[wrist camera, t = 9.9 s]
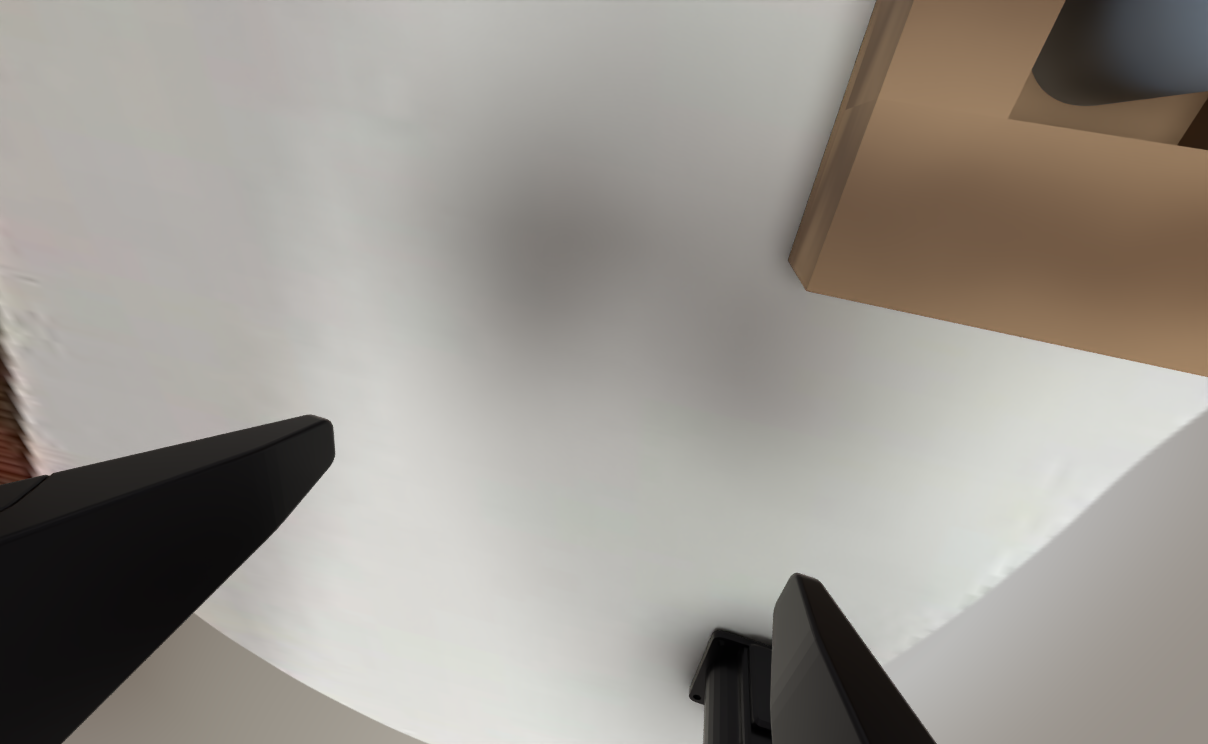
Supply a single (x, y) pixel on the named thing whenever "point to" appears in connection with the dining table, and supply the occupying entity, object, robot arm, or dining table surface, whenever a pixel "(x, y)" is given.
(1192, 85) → the pin
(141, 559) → the robot arm
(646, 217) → the dining table surface
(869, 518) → the dining table surface
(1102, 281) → the socket block
